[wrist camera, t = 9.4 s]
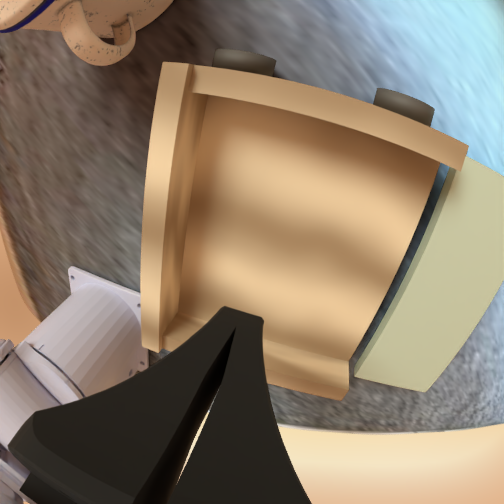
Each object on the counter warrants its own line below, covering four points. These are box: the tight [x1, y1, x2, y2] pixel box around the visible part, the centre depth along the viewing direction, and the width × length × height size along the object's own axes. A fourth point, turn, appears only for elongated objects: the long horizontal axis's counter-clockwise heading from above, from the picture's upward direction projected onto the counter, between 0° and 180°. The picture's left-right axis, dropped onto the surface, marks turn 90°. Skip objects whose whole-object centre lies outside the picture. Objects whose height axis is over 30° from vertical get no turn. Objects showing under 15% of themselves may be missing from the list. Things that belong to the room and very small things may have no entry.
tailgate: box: [354, 156, 504, 392], centre depth 16 cm, size 15×2×6 cm
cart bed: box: [141, 49, 469, 401], centre depth 16 cm, size 18×13×5 cm
